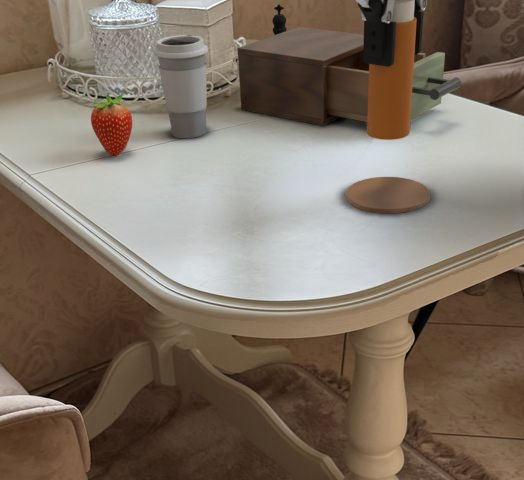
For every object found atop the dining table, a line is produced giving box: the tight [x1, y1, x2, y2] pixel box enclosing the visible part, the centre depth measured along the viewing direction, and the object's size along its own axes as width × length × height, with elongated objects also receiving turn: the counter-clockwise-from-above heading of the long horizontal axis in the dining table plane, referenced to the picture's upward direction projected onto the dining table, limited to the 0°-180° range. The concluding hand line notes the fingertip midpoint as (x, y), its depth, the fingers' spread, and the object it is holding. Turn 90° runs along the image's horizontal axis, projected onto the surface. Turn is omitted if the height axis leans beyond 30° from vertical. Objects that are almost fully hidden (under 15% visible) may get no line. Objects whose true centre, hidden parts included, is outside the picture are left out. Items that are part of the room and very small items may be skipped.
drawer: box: [326, 51, 462, 123], centre depth 106 cm, size 18×13×7 cm
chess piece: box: [271, 4, 288, 36], centre depth 130 cm, size 4×4×10 cm
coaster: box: [345, 176, 431, 214], centre depth 87 cm, size 9×9×1 cm
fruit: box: [90, 91, 133, 157], centre depth 100 cm, size 5×5×8 cm
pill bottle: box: [366, 0, 417, 141], centre depth 79 cm, size 4×4×13 cm
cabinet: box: [236, 26, 364, 127], centre depth 113 cm, size 15×15×9 cm
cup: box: [153, 34, 209, 139], centre depth 104 cm, size 7×7×12 cm
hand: (392, 56), depth 78 cm, fingers closed on pill bottle, 4 cm apart
